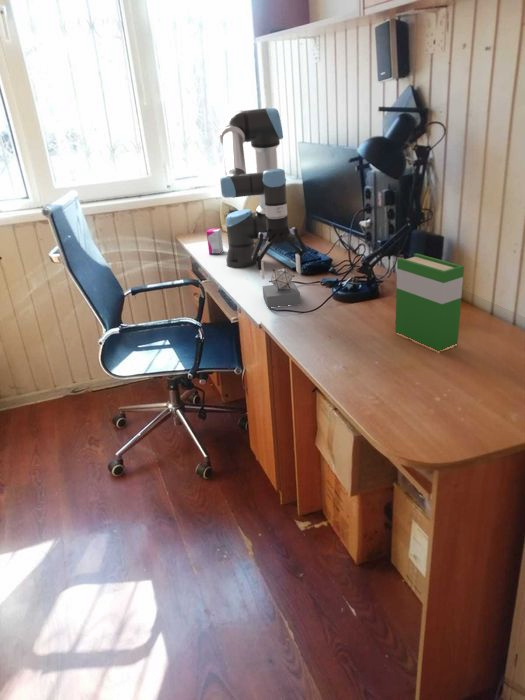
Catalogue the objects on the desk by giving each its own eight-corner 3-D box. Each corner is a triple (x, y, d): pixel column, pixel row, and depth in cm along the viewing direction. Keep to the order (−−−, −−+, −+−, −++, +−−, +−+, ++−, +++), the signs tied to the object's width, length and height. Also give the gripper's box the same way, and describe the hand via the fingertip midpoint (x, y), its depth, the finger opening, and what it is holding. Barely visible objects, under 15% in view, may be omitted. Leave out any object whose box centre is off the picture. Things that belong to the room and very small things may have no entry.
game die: (287, 299, 200) (295, 283, 191) (265, 292, 199) (272, 276, 190) (290, 281, 205) (298, 264, 196) (269, 274, 204) (276, 257, 195)
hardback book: (395, 334, 168) (397, 258, 157) (413, 327, 171) (416, 253, 160) (438, 353, 154) (444, 272, 143) (457, 346, 157) (464, 266, 146)
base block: (263, 298, 206) (262, 286, 204) (294, 294, 207) (293, 282, 205) (267, 310, 196) (266, 296, 193) (300, 306, 197) (300, 292, 194)
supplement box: (223, 251, 270) (221, 228, 265) (220, 254, 265) (217, 231, 260) (212, 251, 272) (209, 228, 267) (208, 254, 267) (206, 231, 262)
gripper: (244, 223, 182) (249, 283, 191) (314, 213, 187) (316, 272, 196) (239, 219, 188) (244, 277, 198) (307, 209, 193) (309, 266, 203)
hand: (280, 275), depth 197 cm, fingers open, 13 cm apart
